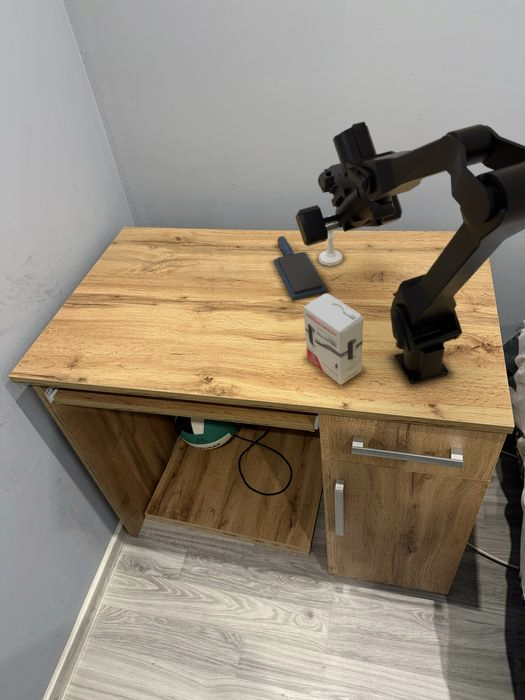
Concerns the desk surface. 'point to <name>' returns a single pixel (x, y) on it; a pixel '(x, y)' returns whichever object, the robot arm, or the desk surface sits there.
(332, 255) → the chess piece
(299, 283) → the scrub brush
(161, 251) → the desk surface
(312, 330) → the ink box
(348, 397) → the desk surface
